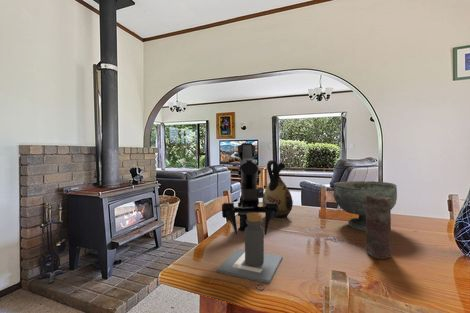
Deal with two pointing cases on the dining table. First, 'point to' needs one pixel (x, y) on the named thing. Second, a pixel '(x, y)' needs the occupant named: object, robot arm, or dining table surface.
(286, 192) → the ceramic jug
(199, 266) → the dining table surface
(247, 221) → the bottle
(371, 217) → the candle
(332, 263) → the dining table surface
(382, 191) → the decorative bowl
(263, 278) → the pad
